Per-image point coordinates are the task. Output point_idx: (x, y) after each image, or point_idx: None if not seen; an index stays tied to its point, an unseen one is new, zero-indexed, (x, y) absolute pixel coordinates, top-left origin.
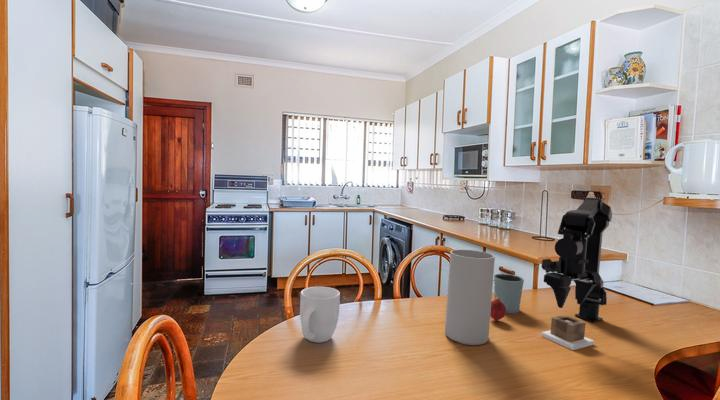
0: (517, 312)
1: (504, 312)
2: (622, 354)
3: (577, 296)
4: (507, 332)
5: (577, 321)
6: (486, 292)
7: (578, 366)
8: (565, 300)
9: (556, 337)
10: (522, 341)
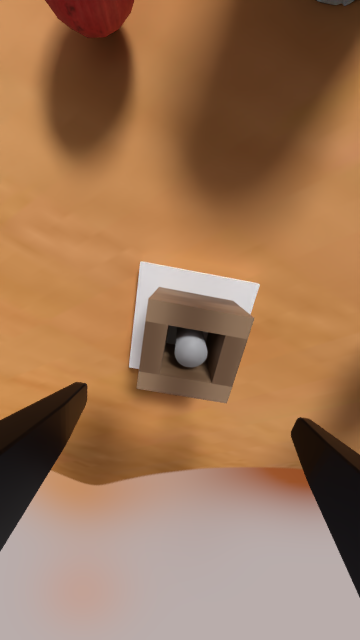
0: (342, 3)
1: (80, 7)
2: (223, 428)
3: (346, 469)
4: (47, 163)
5: (212, 380)
6: None
7: None
8: (31, 492)
9: (145, 314)
10: (38, 248)
